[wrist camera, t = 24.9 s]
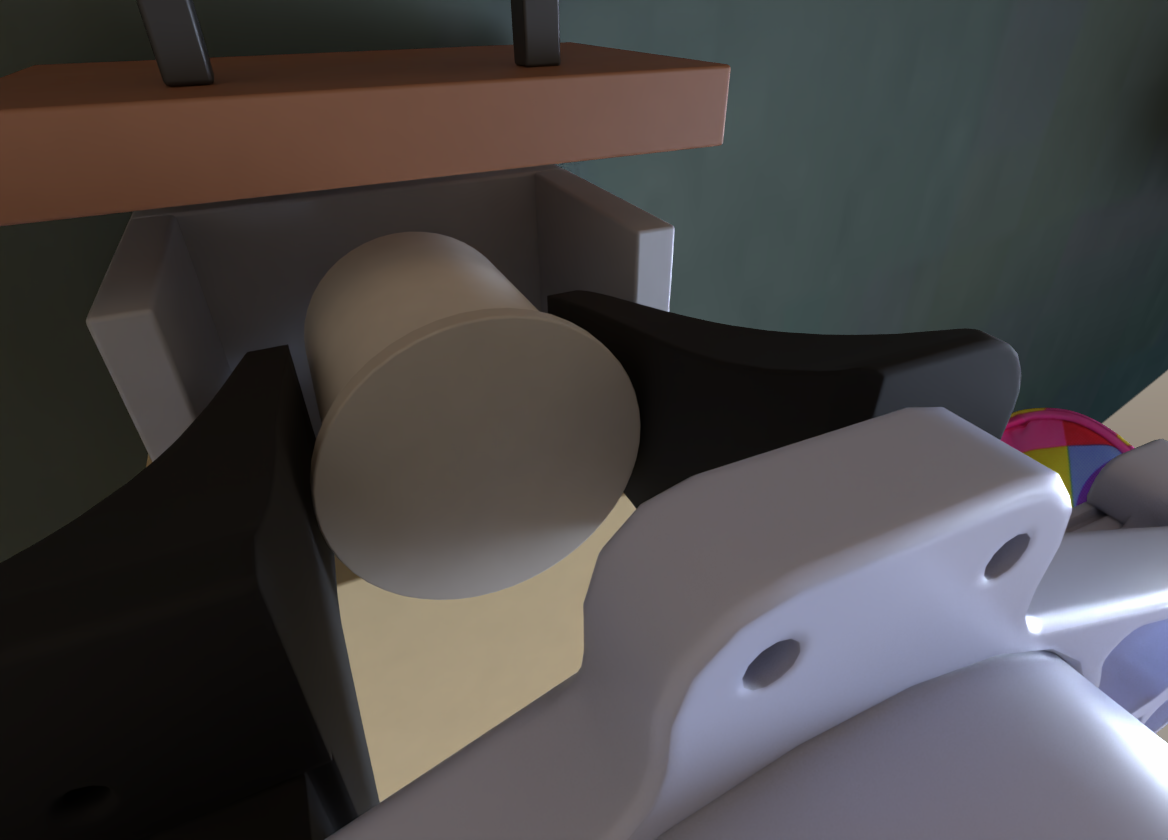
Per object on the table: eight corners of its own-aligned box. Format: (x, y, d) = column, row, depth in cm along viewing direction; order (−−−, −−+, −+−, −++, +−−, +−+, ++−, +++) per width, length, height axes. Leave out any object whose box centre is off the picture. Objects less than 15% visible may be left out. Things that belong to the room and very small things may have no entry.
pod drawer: (-146, -351, 9) (-605, -775, 4) (565, -257, 12) (782, -418, 7) (245, 565, 18) (251, 766, 14) (578, 468, 22) (677, 600, 17)
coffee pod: (289, 444, 12) (315, 628, 9) (279, 201, 10) (308, 314, 7) (512, 427, 15) (608, 572, 11) (542, 223, 12) (673, 317, 9)
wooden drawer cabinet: (155, 401, 16) (110, 657, 10) (582, 315, 20) (740, 458, 14) (296, 718, 23) (321, 974, 17) (585, 609, 27) (689, 786, 21)
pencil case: (884, 503, 34) (1053, 633, 27) (1019, 369, 33) (1230, 468, 26) (976, 614, 48) (1102, 719, 41) (1072, 524, 47) (1218, 615, 40)
